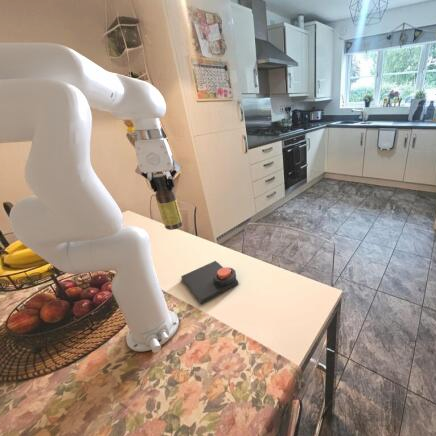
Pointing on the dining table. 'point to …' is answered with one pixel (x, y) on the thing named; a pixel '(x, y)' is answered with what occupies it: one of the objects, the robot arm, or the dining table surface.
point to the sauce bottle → (167, 203)
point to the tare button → (224, 273)
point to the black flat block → (208, 282)
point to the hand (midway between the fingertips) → (164, 189)
